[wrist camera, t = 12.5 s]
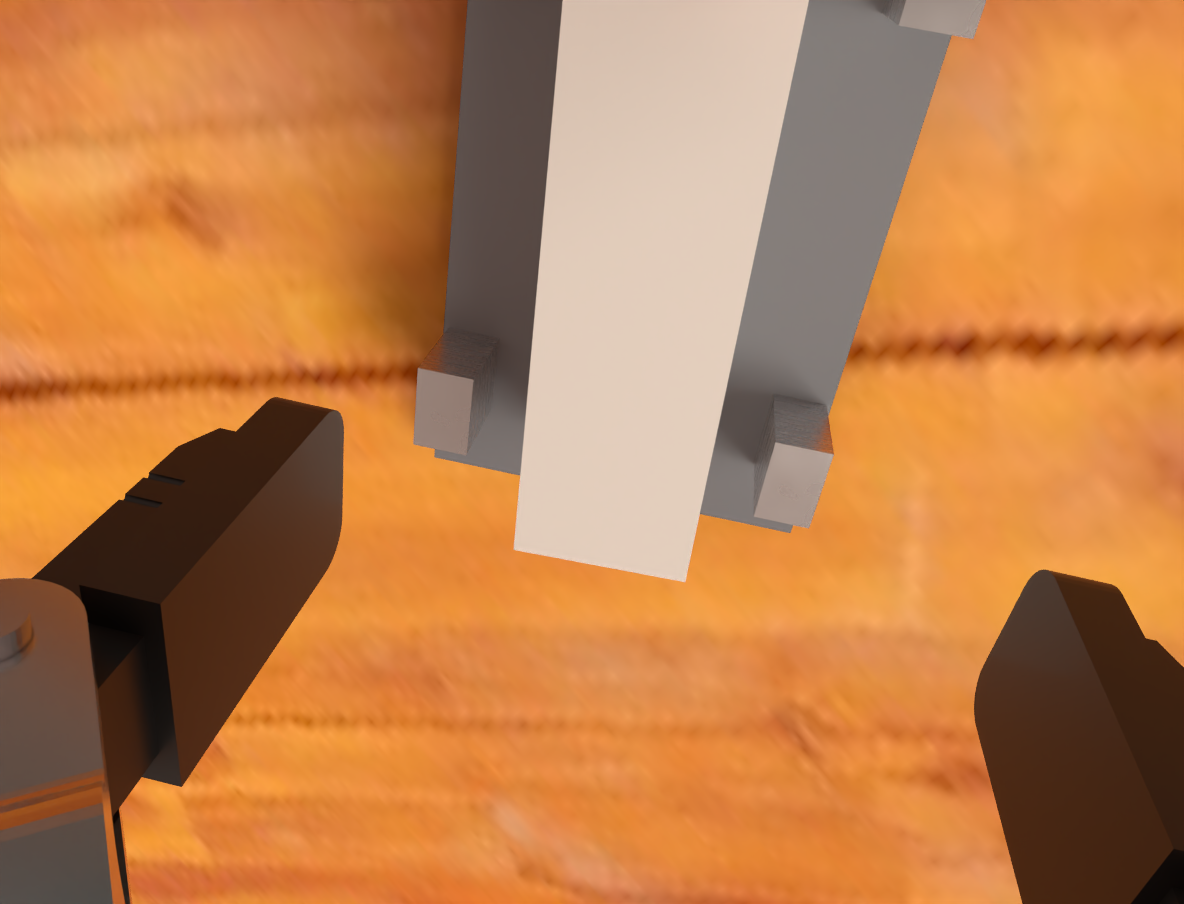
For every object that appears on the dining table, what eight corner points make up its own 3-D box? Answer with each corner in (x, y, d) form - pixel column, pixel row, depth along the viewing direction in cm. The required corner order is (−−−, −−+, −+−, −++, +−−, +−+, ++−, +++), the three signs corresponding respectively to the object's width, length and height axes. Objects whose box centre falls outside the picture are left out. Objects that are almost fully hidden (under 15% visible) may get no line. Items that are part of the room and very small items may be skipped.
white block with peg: (626, -166, 21) (545, -223, 13) (820, -142, 21) (861, -183, 13) (559, 431, 29) (484, 625, 21) (698, 456, 29) (676, 662, 21)
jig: (505, -289, 22) (451, -335, 18) (1014, -205, 21) (1072, -233, 17) (447, 435, 32) (405, 505, 28) (788, 508, 31) (793, 590, 27)
